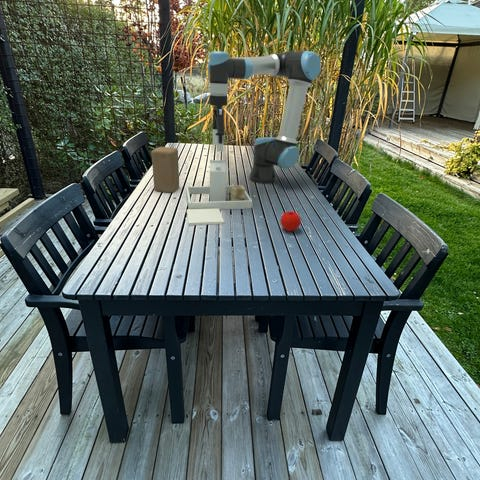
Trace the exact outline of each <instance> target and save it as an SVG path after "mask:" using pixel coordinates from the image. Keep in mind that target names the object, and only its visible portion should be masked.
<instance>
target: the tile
mask: <svg viewBox="0 0 480 480" xmlns="http://www.w3.org/2000/svg"><path fill="white" fill-rule="evenodd" d="M186 217H187V222H188V226H203V225H204V226H205V225H224V224H225V220H224V219H223V215H222V212H221V210H219V208H215V209H189V208H188V209H186Z"/></svg>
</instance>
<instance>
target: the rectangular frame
mask: <svg viewBox="0 0 480 480" xmlns="http://www.w3.org/2000/svg"><path fill="white" fill-rule="evenodd" d="M240 185H241V184H240ZM231 186H232V185H226V194H231ZM235 186H239V184H237V185H235ZM241 186H242V187H244V185H241ZM198 194H200V195H202V194H203V195H204V194H205V195H206V194H208V195H210V185H203V186H202V185H200V186H199V185H198V186H196V185H195V186H191V185H190V186H185V195H186V203H187V207H188V209H215V208H219V210H220V211H222V210H243V209H246V210H247V209H253V200H252V198H251V197H250V196H249V194H248V192H247V191H246V189H245V201H230V200H225V201H213V202H210V201H192V200H191V196H190V195H198ZM191 201H192V202H191Z"/></svg>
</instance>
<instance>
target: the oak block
mask: <svg viewBox="0 0 480 480" xmlns="http://www.w3.org/2000/svg"><path fill="white" fill-rule="evenodd" d="M238 185H239V184H238ZM230 186H231V193H230V199H229V201H245V190H246V188H245V187H244V186H243V185H242V186H243V187H242V186H241V184H240V185H239V186H236V185H230Z"/></svg>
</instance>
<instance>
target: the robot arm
mask: <svg viewBox="0 0 480 480" xmlns="http://www.w3.org/2000/svg"><path fill="white" fill-rule="evenodd" d="M208 58H209V59H208V64H207V70H208V73H209V74H208V75H209V76H208V78H209V79H208V80H209V81H208V83H209V85H208V86H207V88H208V89H209V94H210V95H208V96H209V97H208V99H209V100H208V104H209V106H213V107H212V123H211V124H212V125H211V126H212V145H214V146H216V152H224V137H225V133H226V132H225V116H224V115H225V111H224V109H223V107H225V106H228V99H229V98H228V94H229V80H230V79H231V80H244V81H245V80H249V79H250V78H251V77H252V76H257V75H258V76H259V75H269V76H272V77H283V78H287V82H288V83H289V89H288V93H287V97H286V102H285V106H284V110H283V115H282V119H281V124H280V128H279V131H278V135H277V136H276V137H273V136H272V137H271V136H268V137H267V136H265V137H257V138H255V139H254V145H253V160H252V167H251V170H250V172H249V176H248V178H249V179H248V180H250V181H251V182H252V183H253V182H254V183H257V184H273V183H274V182H275V183H276V181H277V174H276V169H275V166H277V167H279V168H283V169H290V168H292V167H294V166H295V165H296V164H297V162H298V160H299V158H300V149H299V147H298V141H297V139H296V138H297V134H298V129H299V125H300V121H301V117H302V114H303V108H304V104H305V100H306V95H307V92H308V88H310V87H311V86H312V84H313V82H314V80H316V79H317V78H318V77H319V76H320V73H321V70H322V63H321V60H320V56H319V55H318V53H317V52H315V51H311V50H298V51H297V50H296V51H295V50H290V51H283V52H279V53H271V54H269V55H268V56H266V55H265V56H242V57H230V55H229V52H228V51H215V50H214V51H210V53H209V57H208Z"/></svg>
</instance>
